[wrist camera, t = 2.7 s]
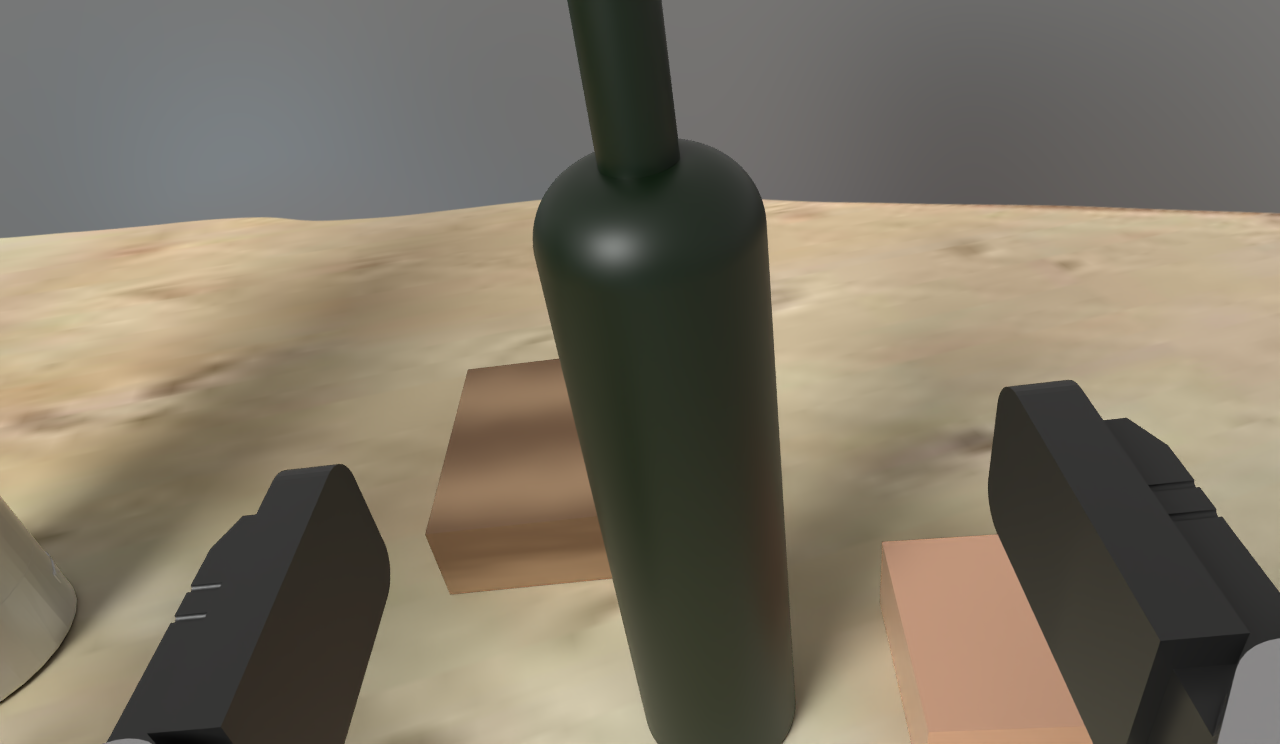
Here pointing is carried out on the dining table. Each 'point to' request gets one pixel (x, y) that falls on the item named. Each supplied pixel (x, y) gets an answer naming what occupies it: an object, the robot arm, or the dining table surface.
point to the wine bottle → (673, 389)
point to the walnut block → (515, 486)
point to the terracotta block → (970, 647)
